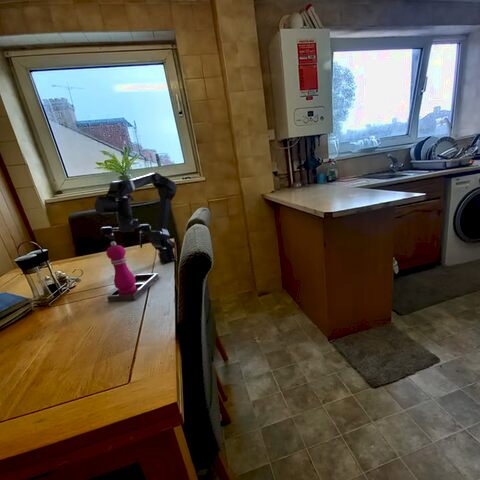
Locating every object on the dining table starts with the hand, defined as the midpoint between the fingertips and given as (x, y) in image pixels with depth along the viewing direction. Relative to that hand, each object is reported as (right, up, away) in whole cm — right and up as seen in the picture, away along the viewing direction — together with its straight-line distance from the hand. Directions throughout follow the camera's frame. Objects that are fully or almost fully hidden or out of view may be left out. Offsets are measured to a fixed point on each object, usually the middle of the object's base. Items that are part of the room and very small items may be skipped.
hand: (129, 249), depth 118 cm
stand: (+7, -16, -10) cm, 20 cm away
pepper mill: (+6, -17, -14) cm, 23 cm away
